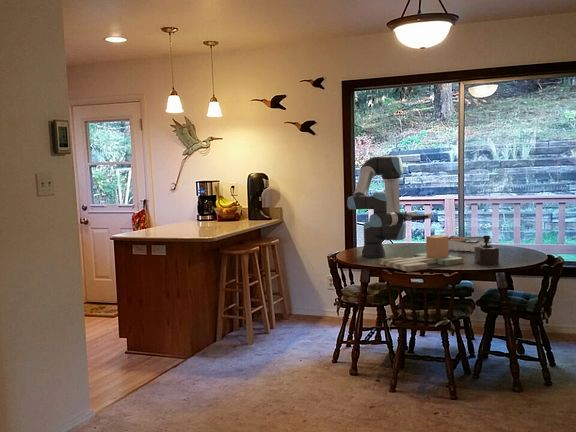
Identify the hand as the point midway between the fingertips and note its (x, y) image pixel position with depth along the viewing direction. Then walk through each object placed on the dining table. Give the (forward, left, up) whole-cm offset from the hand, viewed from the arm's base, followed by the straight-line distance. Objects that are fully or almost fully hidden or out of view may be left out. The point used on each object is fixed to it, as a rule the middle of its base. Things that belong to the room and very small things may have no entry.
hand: (424, 214), depth 327 cm
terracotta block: (+5, +9, -26) cm, 28 cm away
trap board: (-2, -2, -29) cm, 29 cm away
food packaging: (+10, +56, -29) cm, 64 cm away
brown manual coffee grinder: (+34, +9, -29) cm, 46 cm away
